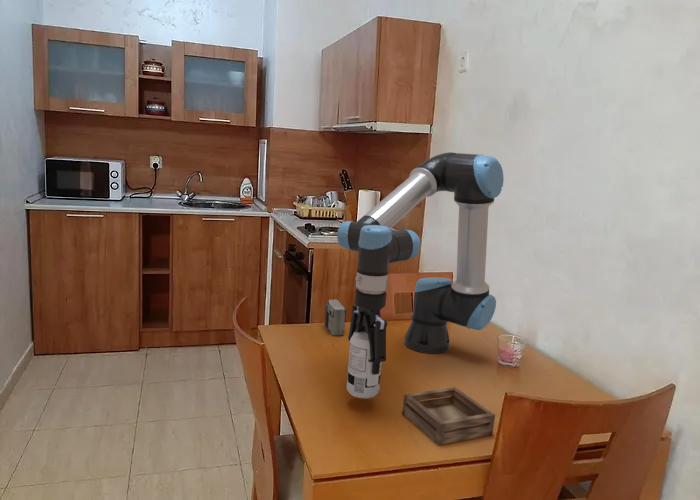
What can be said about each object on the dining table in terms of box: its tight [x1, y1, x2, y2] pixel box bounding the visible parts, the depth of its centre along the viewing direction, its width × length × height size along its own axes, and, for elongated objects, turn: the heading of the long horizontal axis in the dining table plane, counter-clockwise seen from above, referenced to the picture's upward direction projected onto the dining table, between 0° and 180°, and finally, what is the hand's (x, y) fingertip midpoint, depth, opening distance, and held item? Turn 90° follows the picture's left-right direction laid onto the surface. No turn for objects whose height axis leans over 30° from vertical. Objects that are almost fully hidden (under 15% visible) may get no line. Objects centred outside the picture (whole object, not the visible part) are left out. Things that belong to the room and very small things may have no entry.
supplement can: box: [346, 331, 383, 399], centre depth 139 cm, size 8×8×15 cm
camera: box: [324, 299, 347, 337], centre depth 193 cm, size 11×6×10 cm, turn 14°
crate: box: [401, 387, 496, 446], centre depth 134 cm, size 15×15×5 cm
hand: (363, 377), depth 139 cm, fingers closed on supplement can, 8 cm apart
